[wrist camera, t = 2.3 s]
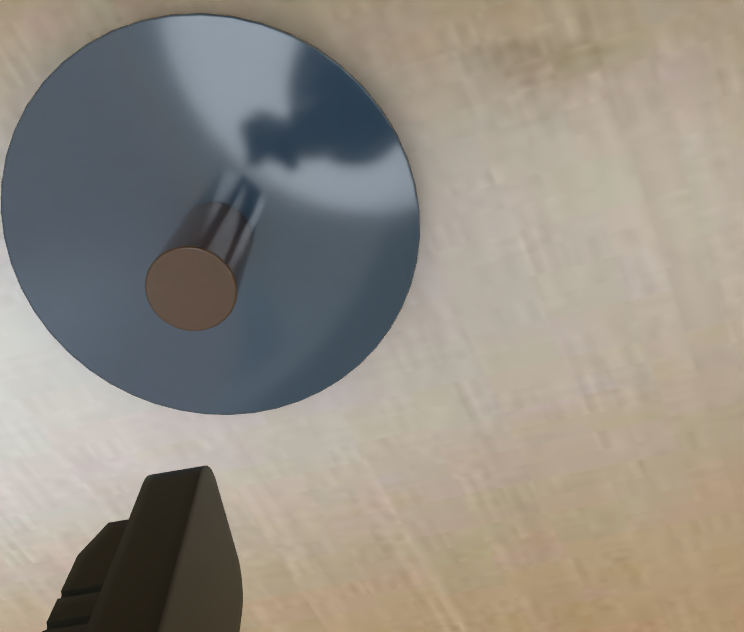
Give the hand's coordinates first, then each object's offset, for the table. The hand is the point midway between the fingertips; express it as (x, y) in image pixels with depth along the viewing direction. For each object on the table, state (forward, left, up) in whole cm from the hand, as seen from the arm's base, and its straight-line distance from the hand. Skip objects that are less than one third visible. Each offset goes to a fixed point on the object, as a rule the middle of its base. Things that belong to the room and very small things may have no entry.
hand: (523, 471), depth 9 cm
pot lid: (-5, -3, -16) cm, 17 cm away
